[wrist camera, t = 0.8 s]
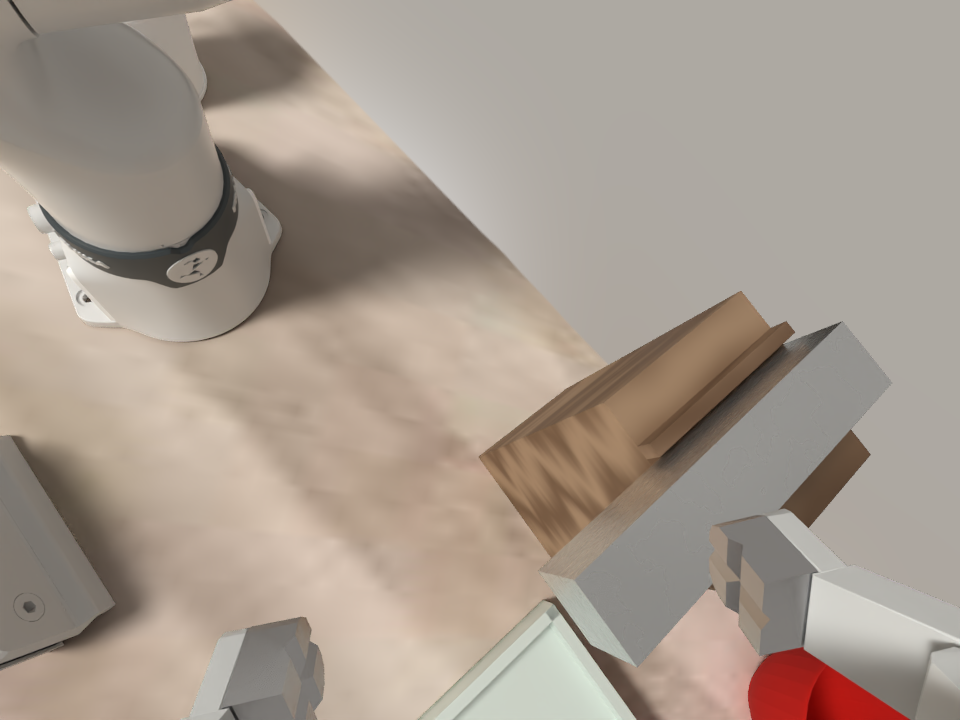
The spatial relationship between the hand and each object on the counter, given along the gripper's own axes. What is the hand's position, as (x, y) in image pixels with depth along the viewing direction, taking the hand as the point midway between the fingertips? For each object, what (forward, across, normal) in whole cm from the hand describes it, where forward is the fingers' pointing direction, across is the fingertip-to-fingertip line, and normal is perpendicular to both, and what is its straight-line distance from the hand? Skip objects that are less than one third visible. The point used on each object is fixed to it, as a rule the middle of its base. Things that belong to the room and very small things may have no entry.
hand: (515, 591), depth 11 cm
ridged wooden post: (+36, -8, +24) cm, 44 cm away
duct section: (+14, -11, +10) cm, 20 cm away
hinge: (+29, +36, +15) cm, 49 cm away
